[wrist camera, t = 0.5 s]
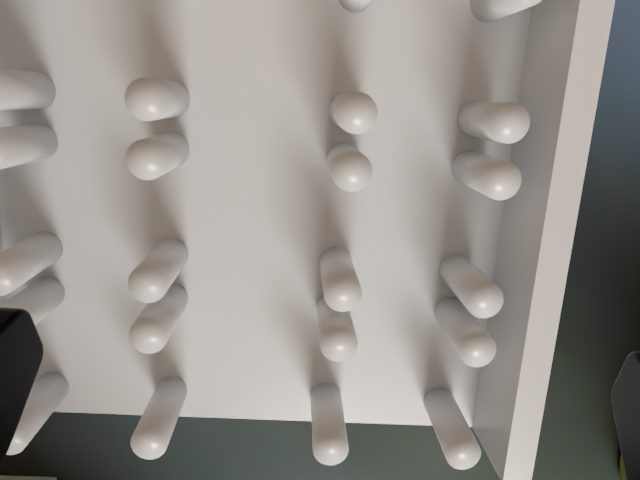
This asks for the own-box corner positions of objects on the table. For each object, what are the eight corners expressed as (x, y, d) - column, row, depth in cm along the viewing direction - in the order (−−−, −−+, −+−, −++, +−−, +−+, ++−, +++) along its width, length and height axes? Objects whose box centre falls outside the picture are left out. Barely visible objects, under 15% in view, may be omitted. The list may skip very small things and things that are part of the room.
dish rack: (488, 414, 24) (530, 484, 20) (1, 396, 23) (-68, 466, 19) (553, -20, 20) (624, -54, 16) (-34, -66, 19) (-133, -115, 15)
